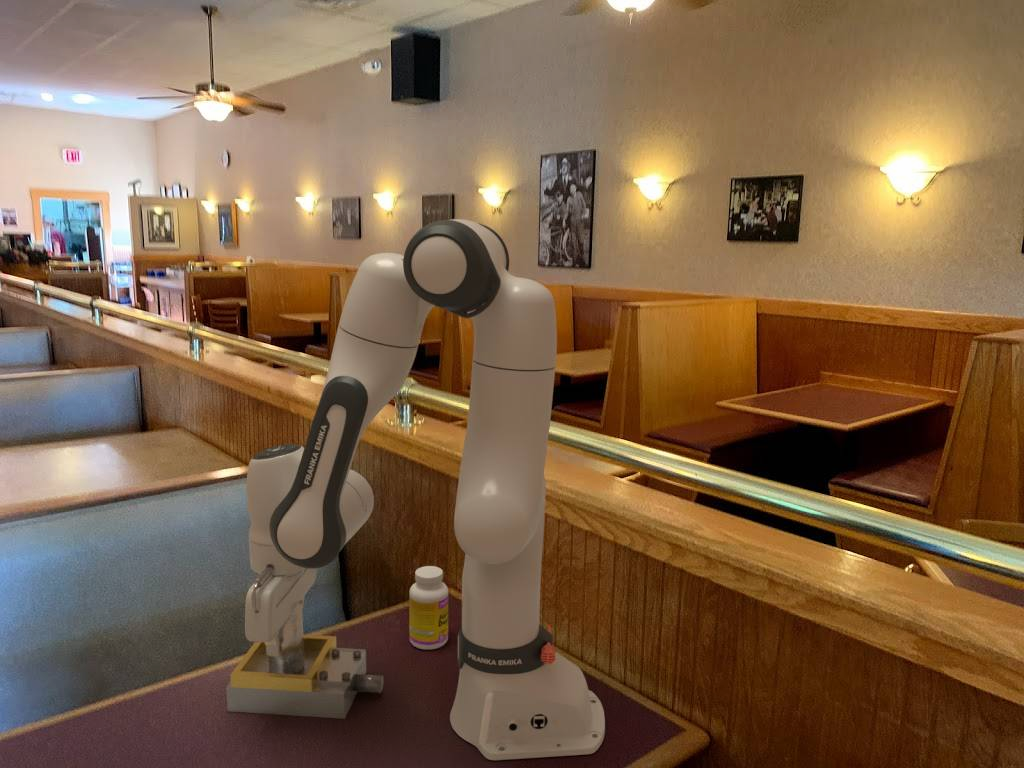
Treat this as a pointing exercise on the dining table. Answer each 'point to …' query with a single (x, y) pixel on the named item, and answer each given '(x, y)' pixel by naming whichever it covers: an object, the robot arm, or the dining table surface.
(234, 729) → the dining table surface
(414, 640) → the supplement bottle
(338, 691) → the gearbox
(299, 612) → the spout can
